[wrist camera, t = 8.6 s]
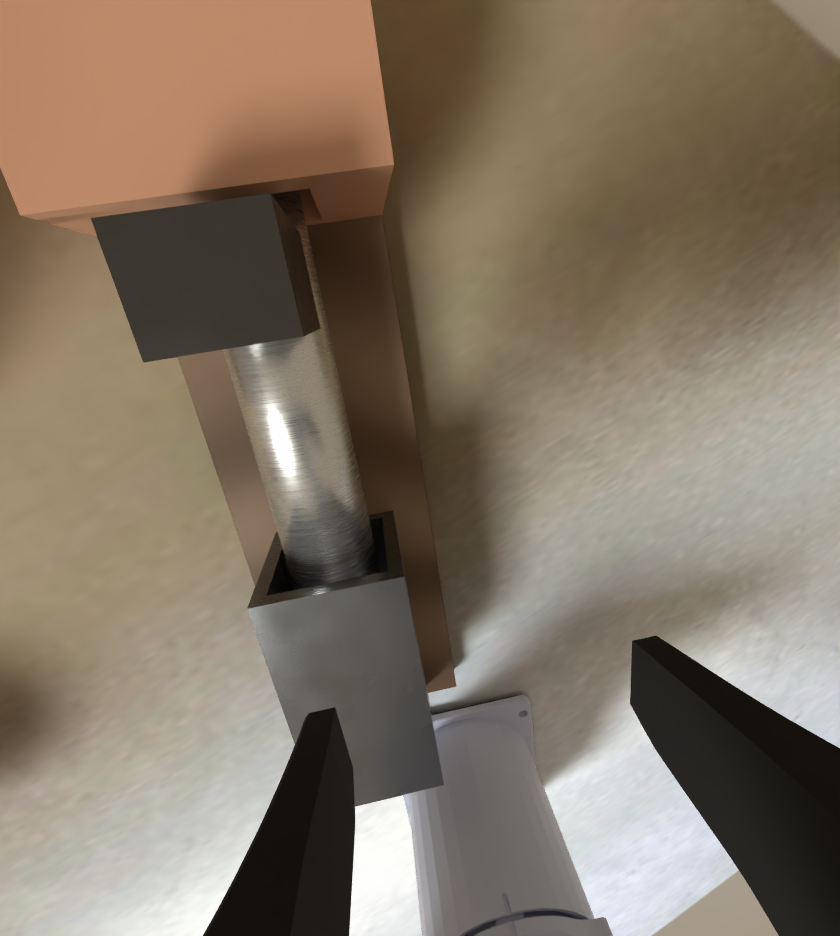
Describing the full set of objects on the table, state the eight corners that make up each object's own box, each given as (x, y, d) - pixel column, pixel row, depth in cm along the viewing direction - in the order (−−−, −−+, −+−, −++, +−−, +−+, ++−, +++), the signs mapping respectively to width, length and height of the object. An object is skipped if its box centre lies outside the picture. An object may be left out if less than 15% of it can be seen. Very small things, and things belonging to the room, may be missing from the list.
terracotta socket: (382, 214, 15) (394, 164, 10) (141, 249, 14) (20, 215, 9) (352, 27, 13) (348, -155, 8) (76, 58, 13) (-119, -117, 7)
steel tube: (382, 564, 19) (396, 707, 12) (305, 580, 18) (273, 735, 12) (286, 105, 13) (208, -116, 6) (172, 119, 13) (-37, -94, 6)
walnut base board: (452, 671, 23) (456, 686, 22) (303, 704, 23) (300, 721, 22) (352, 46, 14) (352, 27, 13) (96, 75, 14) (76, 58, 13)
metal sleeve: (426, 685, 22) (444, 785, 18) (328, 707, 22) (320, 814, 17) (393, 510, 19) (404, 576, 14) (275, 533, 18) (246, 608, 14)
